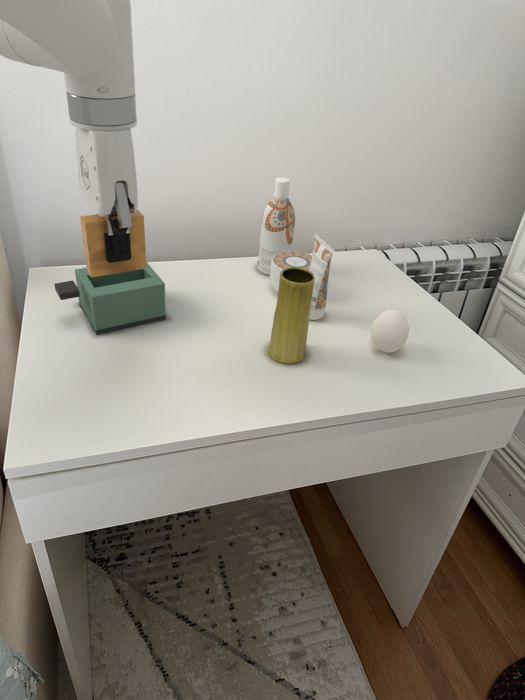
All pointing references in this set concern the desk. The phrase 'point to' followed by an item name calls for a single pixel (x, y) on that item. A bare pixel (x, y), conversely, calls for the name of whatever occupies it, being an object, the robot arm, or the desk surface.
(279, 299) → the vase
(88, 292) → the toaster
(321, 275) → the cosmetic set
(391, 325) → the egg
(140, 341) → the desk surface
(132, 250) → the golden wooden block
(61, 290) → the dark grey slab
